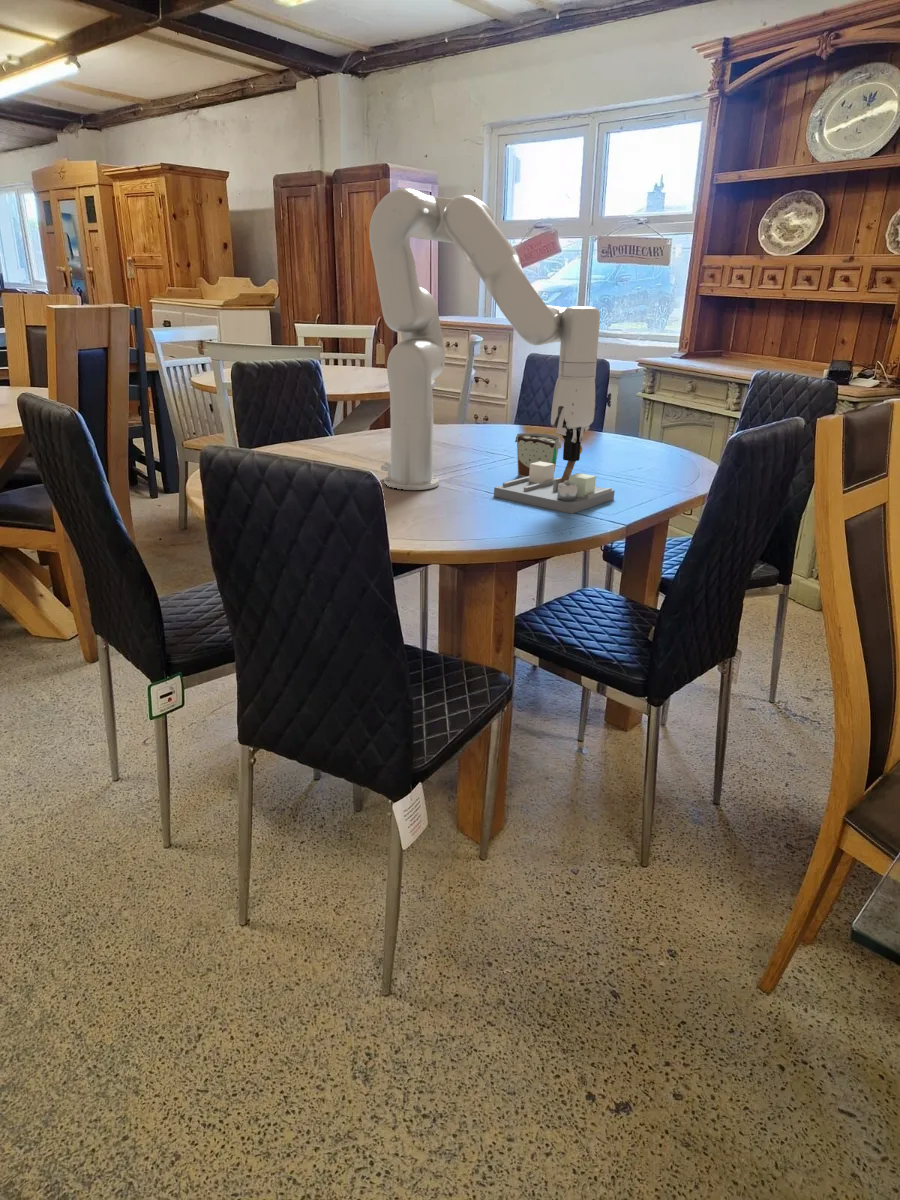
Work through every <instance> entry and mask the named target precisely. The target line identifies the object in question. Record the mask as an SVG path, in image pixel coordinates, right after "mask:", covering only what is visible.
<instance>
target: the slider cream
mask: <svg viewBox="0 0 900 1200" xmlns="http://www.w3.org/2000/svg"><path fill="white" fill-rule="evenodd" d="M554 469H555V470H556V465H555V464H552V463H547V462H541V461H539V462H535V463H531V464H530V471H529V482H534V483H541V482H545V481H548V480H552V479H555V471H554Z"/></svg>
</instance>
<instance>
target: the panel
mask: <svg viewBox="0 0 900 1200" xmlns="http://www.w3.org/2000/svg"><path fill="white" fill-rule="evenodd" d="M561 479H562V477H557V478H556V477H554V479H552V480H548V481H545V482H541V483H534V482H529V476H527V477H520V478H517V479H514V480H513V479H512V480H508V481H505V482H502V485H498V486H495V487H494V489H493V497H496V498H500V499H505V500H509V501H513V502H518V503H523V504H526V505H531V506H535V507H540V508H544V509H548V510H553V511H558V512H561V513H568V514H570V515H572V514H576V513H578V512H582V511H584V510H586V509H590V508H593V507H595V506H598V505H602V504H605V503H606V502H611V501H613V500H614V499H615V492H616V491H615V490H614V489H613V488H612V487H606V488H604V487H598V486H595V491H594V492H593V493H590V494H587V495H585V498H582V497H577V500H576V501H572V502H567V501H560V500H558V499H557V495H558V484H559V483H560V481H561ZM564 483H569V480H566V481H564Z"/></svg>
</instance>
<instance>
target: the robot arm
mask: <svg viewBox="0 0 900 1200" xmlns="http://www.w3.org/2000/svg"><path fill="white" fill-rule="evenodd" d="M368 228H369V231H368V232H369V247H370V250H371V251H370V252H371V255H372V260H373V265H374V266H373V267H374V272H375V278H376V283H377V289H378V290H377V291H378V295H379V301H380V306H381V312H382V317H383V320H384V323H385V324H386V326H387V327H388V328H389V329H390V330H391V331H393V332H395V333H400V336H401V341H400V342H398V343H397V344H396V345H394V346H393V347H392V349H390V352H389V354H388V357H387V362H386V373H387V380H388V388H389V408H390V409H389V410H390V414H389V415H390V461H388V460H386V461H385V462H384V464H382V465H381V466H380V470H381V471H384V472H387V476H386V477H385V478H384V479H383V484H384V483H385V484H386V485H387V486H386V485H385V484H384V485H385V486H386V487H388V486H389V487H388V488H390V487H393V488H392V489H394V488H397V489H396V490H401V489H403V490H404V491H425V490H430V489H434V488H437V487H438V486H439V485H440V479H439V478H438V477H436V476H434V475H433V465H434V464H433V457H434V455H433V454H434V451H433V450H434V449H433V448H434V395H433V388H432V387H433V386H432V381H433V380H435V379H436V378H438V377H439V376H440V375H441V374H442V372H443V370H444V367H445V364H446V351H445V344H444V338H443V334H442V328H441V326H442V325H441V321H440V320H441V319H440V314H439V311H438V307H437V304H436V300H435V298H434V297H433V295H432V294H431V293H430V292H429V291H428V290H427V289H425V288H423V287H421V286H420V285H419V284H420V283H419V280H418V275H417V269H416V262H415V258H414V255H413V251H412V248H411V243H410V242H411V241H410V240H411V238H413V239H419V240H427V241H436V242H442V243H450V244H451V243H452V244H455V246H456V247H457V248H458V250H459V251H460V252H461V253H462V255H463V256H464V257H465V258H466V261H467V262H468V263H469V264H470V265H471V267H472V268H473V269H474V270H475V273H477V275H478V276H479V277H480V279H481V280H482V282H483V283H484V286H485V287H486V290H487V291H488V292H489V293H490V295H491V296H492V298H493V300H494V302H495V303H496V305H497V306H498V308H499V310H500V311H501V312H502V314H503V316H504V317H505V318H506V320H507V321H508V322H509V323H510V325H511V326H512V327H513V328H514V330H515V331H516V332H517V334H518V335H519V336H520V338H521V339H522V340H523V341H524V342H526V343H527V344H530V345H533V346H542V345H547V344H553V343H560V345H559V363H558V378H557V379H556V382H555V386H554V390H553V391H554V392H553V396H552V397H553V398H552V406H551V414H550V417H551V418H550V425H551V426H552V427H554V428H556V435H558V436H562V441H563V451H562V460H564V461H567V462H568V461H573V462H575V461H576V462H578V461H580V460H581V459H580V458H581V457H580V456H581V454H580V447H581V446H582V443H581V442H582V441H583V438H584V434H585V432H587V431H588V430H589V429H590V425H592V423H594V419H595V411H596V376H597V374H596V373H597V364H598V363H597V361H598V349H599V338H600V337H599V336H600V335H599V334H600V324H601V312H600V310H599V309H598V308H597V307H594V306H568V307H561V306H556V305H550V304H546V303H545V302H544V300H543V299H542V298H541V296H540V295H539V294H538V292H537V290H535V288H534V287H533V286H532V284H531V283H530V281H529V279H528V278H527V276H526V274H525V272H524V270H523V267H522V264H521V259H520V256H519V254H518V252H517V250H516V249H515V247H513V246H512V244H511V242H509V240H508V238H507V237H506V236H505V235H504V233H503V232H502V230H501V229H500V228H499V226H498V225H497V224H496V222H495V221H494V216H493V213H492V211H491V209H490V207H489V206H488V205H487V204H486V203H485V202H484V201H482V200H480V199H479V198H477V197H474V196H472V195H470V194H469V195H468V194H460V195H458V196H455V197H453V198H450V197H442V196H441V197H440V196H433V195H427V194H425V193H424V192H423V193H422V192H421V191H419V190H415V189H413V188H409V187H401V188H396V189H393V190H392V191H390V192H389V193H386V195H384V196H383V197H382V198H381V200H379V202H378V203H377V205H376V207H375V208H374V210H373V213H372V214H371V217H370V222H369V227H368ZM576 462H575V463H576ZM403 490H402V491H403Z"/></svg>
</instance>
